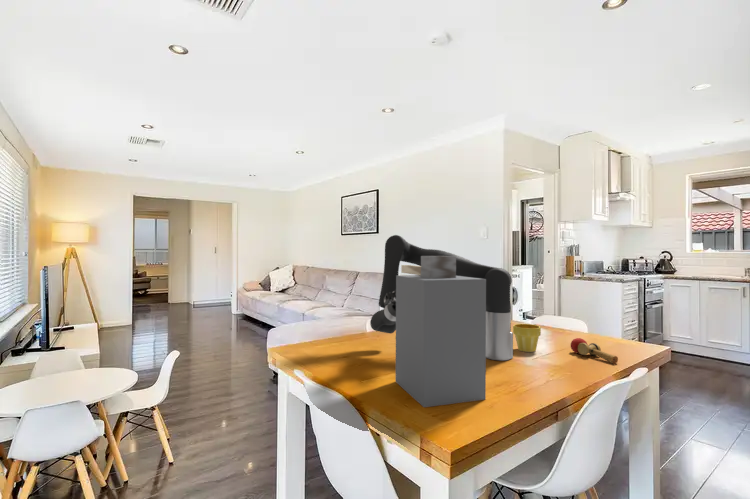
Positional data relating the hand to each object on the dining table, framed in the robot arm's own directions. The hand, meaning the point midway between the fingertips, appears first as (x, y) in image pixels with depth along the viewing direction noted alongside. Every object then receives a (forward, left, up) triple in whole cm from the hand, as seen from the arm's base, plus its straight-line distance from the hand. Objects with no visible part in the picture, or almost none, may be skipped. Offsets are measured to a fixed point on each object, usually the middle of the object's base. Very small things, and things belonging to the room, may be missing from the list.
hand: (412, 289), depth 127 cm
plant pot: (-55, -12, -27) cm, 62 cm away
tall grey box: (0, +18, -27) cm, 32 cm away
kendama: (-72, +4, -27) cm, 77 cm away
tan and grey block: (0, +7, +5) cm, 9 cm away
